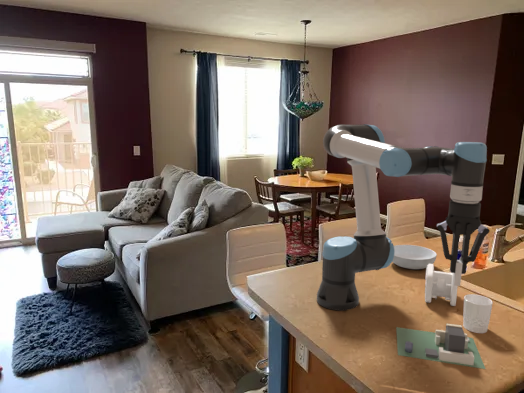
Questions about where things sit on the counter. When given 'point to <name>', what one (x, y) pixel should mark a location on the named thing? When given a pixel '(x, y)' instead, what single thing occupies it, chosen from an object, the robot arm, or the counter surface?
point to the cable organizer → (439, 285)
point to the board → (429, 346)
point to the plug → (454, 338)
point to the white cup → (476, 313)
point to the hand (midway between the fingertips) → (456, 283)
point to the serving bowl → (413, 256)
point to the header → (453, 356)
